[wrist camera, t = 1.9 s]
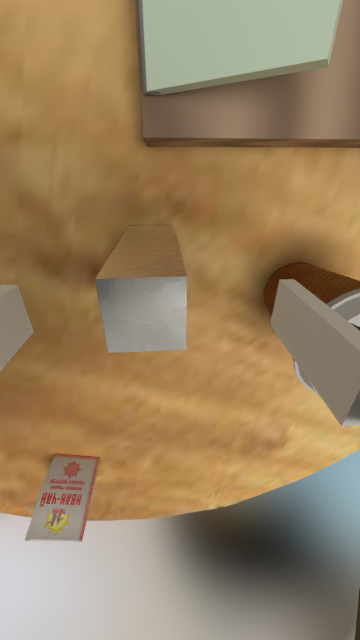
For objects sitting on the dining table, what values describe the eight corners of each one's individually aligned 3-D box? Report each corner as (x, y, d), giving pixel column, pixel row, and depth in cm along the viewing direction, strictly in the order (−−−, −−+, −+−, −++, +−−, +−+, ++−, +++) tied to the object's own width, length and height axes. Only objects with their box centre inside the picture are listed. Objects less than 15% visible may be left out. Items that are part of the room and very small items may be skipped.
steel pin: (133, 267, 25) (108, 352, 13) (129, 225, 23) (95, 278, 11) (173, 266, 25) (186, 349, 13) (173, 224, 23) (187, 276, 11)
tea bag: (97, 470, 42) (81, 547, 33) (54, 467, 40) (25, 546, 32) (99, 457, 40) (82, 534, 31) (54, 453, 39) (24, 533, 30)
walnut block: (147, 146, 20) (143, 137, 16) (132, -112, 14) (120, -241, 10) (426, 148, 21) (494, 140, 17) (521, -86, 15) (662, -188, 11)
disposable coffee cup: (257, 246, 25) (328, 296, 14) (348, 247, 25) (479, 295, 15) (242, 328, 29) (288, 410, 19) (320, 327, 30) (404, 405, 20)
